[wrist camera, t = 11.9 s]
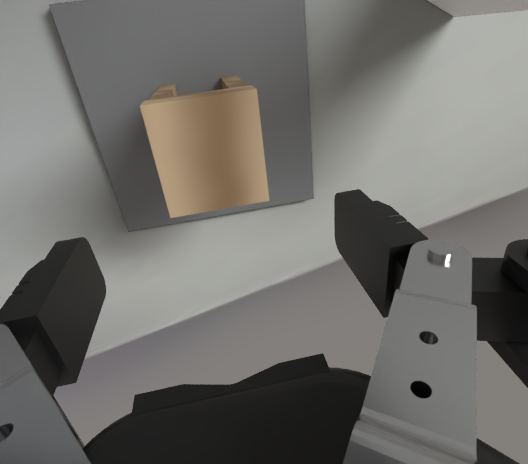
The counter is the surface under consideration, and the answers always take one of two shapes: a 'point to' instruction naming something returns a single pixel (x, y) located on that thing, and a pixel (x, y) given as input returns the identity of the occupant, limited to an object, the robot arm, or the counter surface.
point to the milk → (479, 6)
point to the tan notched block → (207, 147)
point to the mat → (189, 85)
